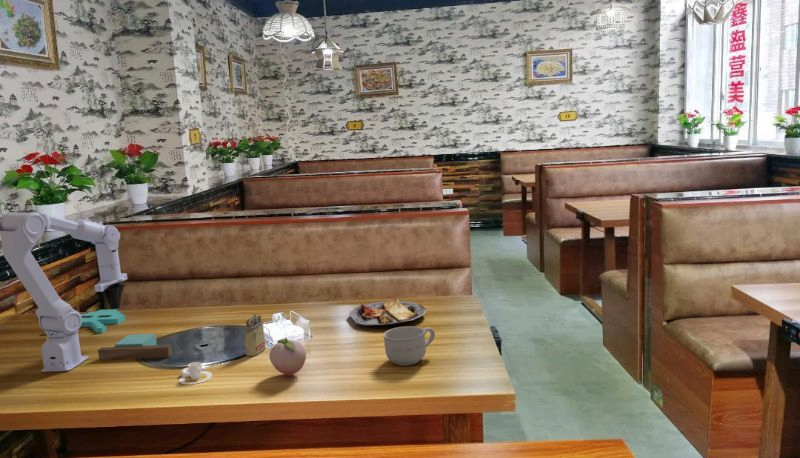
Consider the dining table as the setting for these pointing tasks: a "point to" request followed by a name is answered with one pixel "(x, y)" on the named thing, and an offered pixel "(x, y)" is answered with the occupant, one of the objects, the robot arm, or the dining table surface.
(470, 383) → the dining table surface
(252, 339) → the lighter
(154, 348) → the walnut board
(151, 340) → the teal block
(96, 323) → the teal pixel cutout
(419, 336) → the teacup
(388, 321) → the food plate
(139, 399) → the dining table surface
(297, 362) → the decorative fruit
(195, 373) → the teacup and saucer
